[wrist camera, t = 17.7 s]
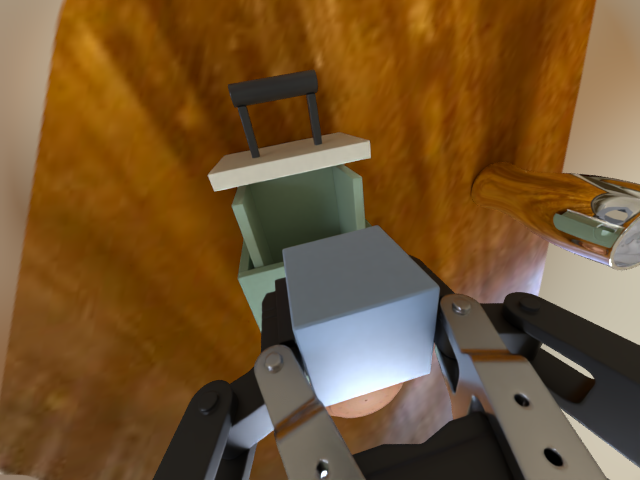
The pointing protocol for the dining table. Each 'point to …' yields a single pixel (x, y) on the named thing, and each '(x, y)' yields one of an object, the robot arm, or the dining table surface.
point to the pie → (364, 403)
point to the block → (360, 313)
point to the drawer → (291, 176)
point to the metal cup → (568, 210)
